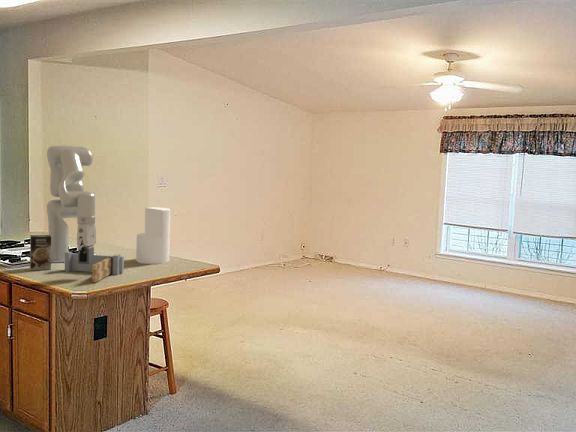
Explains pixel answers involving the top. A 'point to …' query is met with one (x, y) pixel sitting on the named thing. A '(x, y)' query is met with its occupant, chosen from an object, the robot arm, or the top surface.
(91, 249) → the grey rectangular block
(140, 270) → the top surface
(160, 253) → the stepped white column
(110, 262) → the door
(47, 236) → the coffee box
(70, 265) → the wall
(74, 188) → the robot arm
